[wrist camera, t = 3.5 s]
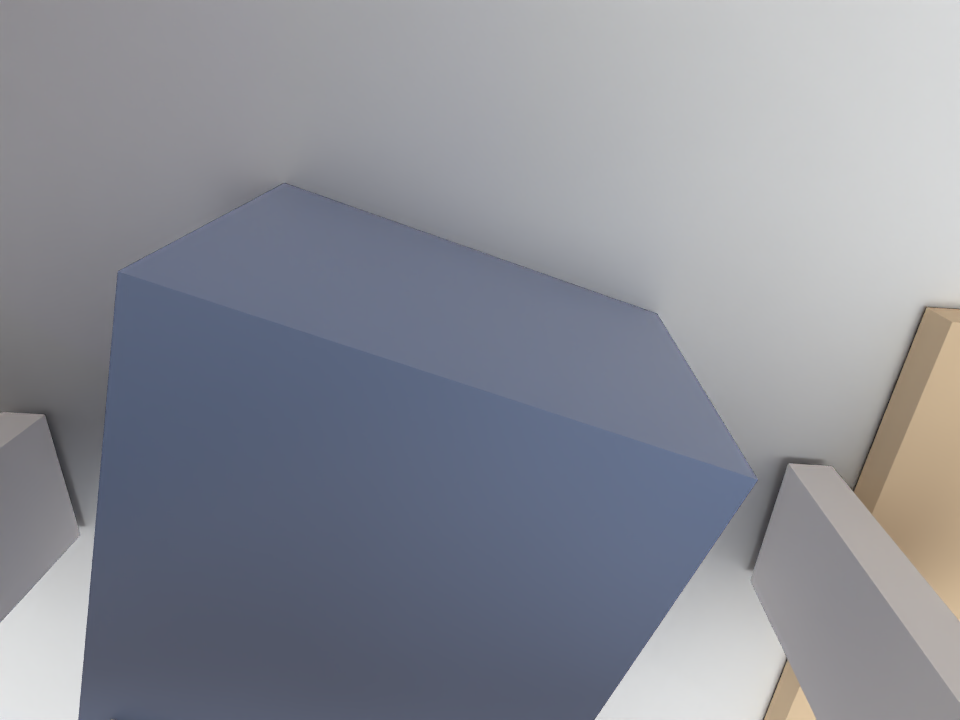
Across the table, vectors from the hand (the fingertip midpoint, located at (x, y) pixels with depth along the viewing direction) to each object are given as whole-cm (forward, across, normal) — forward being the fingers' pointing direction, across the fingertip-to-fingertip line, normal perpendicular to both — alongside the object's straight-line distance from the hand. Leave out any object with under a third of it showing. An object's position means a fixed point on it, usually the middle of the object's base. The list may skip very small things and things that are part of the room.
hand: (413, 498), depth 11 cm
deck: (0, 0, 0) cm, 1 cm away
